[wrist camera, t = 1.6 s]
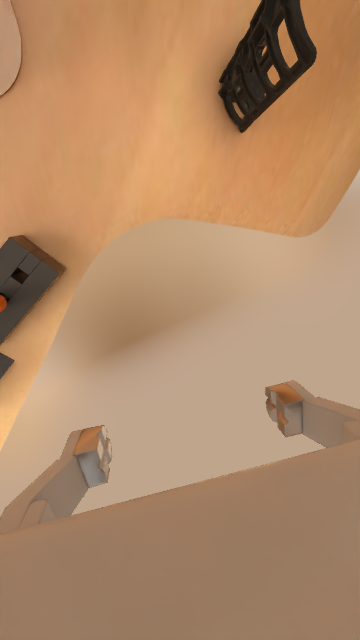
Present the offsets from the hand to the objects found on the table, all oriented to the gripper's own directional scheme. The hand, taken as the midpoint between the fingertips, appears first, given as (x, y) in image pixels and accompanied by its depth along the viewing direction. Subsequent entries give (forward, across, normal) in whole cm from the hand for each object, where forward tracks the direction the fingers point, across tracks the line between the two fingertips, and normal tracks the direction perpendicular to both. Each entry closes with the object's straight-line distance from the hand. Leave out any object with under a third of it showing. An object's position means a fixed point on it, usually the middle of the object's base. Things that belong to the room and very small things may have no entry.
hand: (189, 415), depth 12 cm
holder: (+34, -18, -30) cm, 49 cm away
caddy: (+34, +24, -5) cm, 42 cm away
